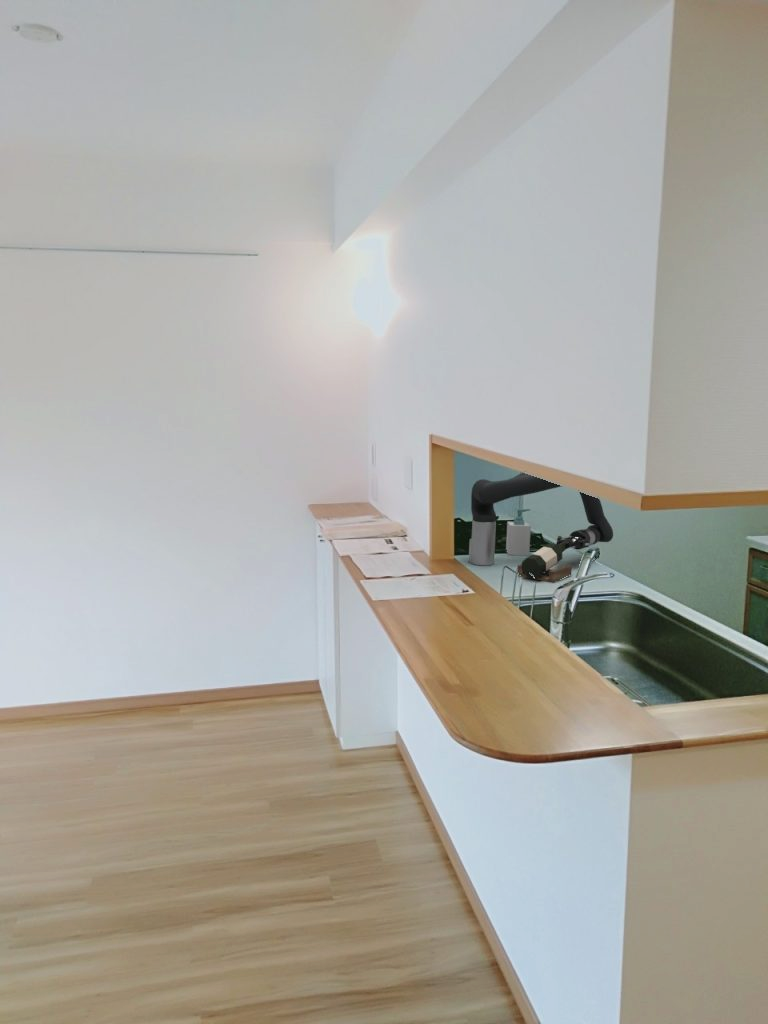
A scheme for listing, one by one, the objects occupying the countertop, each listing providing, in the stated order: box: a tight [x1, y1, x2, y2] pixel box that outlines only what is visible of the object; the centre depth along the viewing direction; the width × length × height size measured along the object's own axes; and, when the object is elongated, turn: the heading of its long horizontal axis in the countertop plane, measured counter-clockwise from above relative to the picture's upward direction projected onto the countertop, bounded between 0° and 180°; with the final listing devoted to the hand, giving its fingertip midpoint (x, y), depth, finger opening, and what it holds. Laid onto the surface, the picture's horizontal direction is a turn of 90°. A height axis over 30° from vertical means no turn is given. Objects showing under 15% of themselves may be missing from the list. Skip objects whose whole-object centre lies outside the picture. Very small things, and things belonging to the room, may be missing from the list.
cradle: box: [517, 563, 573, 584], centre depth 296 cm, size 15×14×4 cm
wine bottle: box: [521, 539, 572, 580], centre depth 300 cm, size 8×8×30 cm
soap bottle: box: [505, 508, 532, 556], centre depth 332 cm, size 9×9×19 cm
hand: (562, 544), depth 306 cm, fingers closed on wine bottle, 3 cm apart
